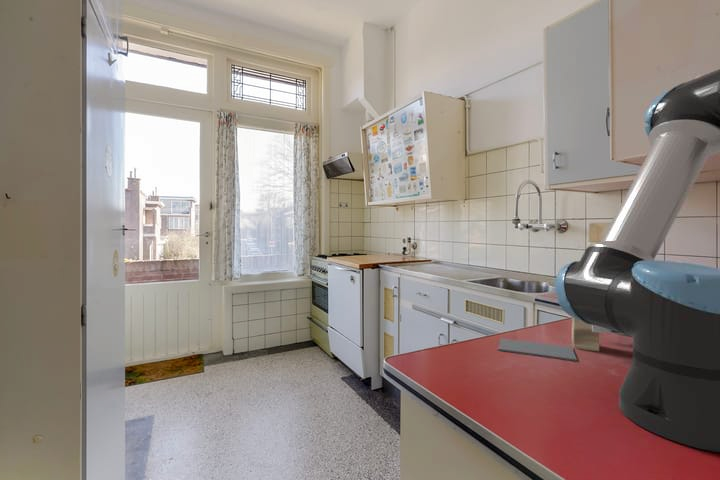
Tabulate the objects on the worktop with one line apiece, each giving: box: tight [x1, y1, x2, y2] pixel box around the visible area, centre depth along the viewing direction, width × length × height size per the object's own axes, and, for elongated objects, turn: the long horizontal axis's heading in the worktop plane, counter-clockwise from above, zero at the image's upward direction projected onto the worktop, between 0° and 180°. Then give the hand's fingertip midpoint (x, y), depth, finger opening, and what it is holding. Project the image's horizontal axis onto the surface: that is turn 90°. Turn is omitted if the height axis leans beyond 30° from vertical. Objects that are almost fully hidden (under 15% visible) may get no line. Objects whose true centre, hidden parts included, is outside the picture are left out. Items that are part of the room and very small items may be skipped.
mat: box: [497, 337, 578, 362], centre depth 80 cm, size 9×16×1 cm, turn 63°
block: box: [571, 316, 600, 352], centre depth 82 cm, size 5×5×12 cm
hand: (587, 318), depth 82 cm, fingers open, 13 cm apart
